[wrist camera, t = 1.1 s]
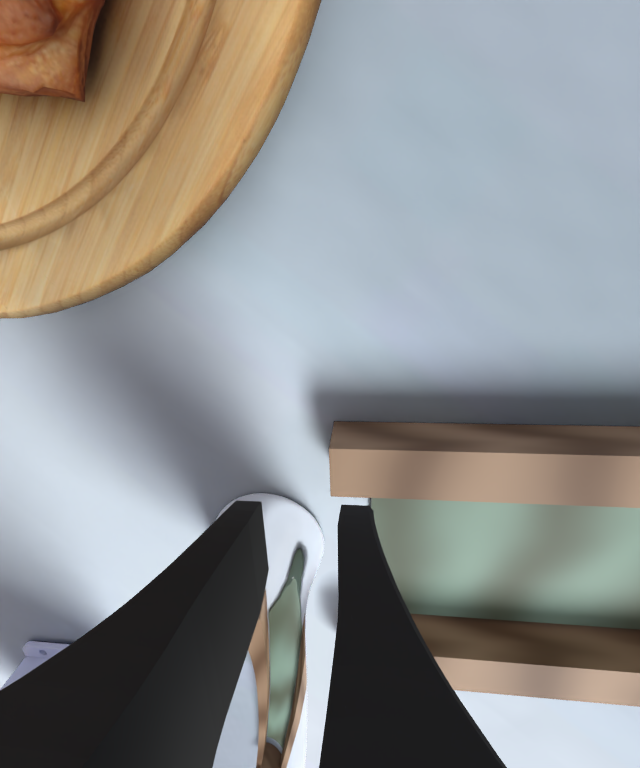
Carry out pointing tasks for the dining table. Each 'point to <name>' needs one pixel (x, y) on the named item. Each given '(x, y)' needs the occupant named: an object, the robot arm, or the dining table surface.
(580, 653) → the cradle
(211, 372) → the dining table surface
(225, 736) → the beer glass
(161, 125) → the wooden plate with food
